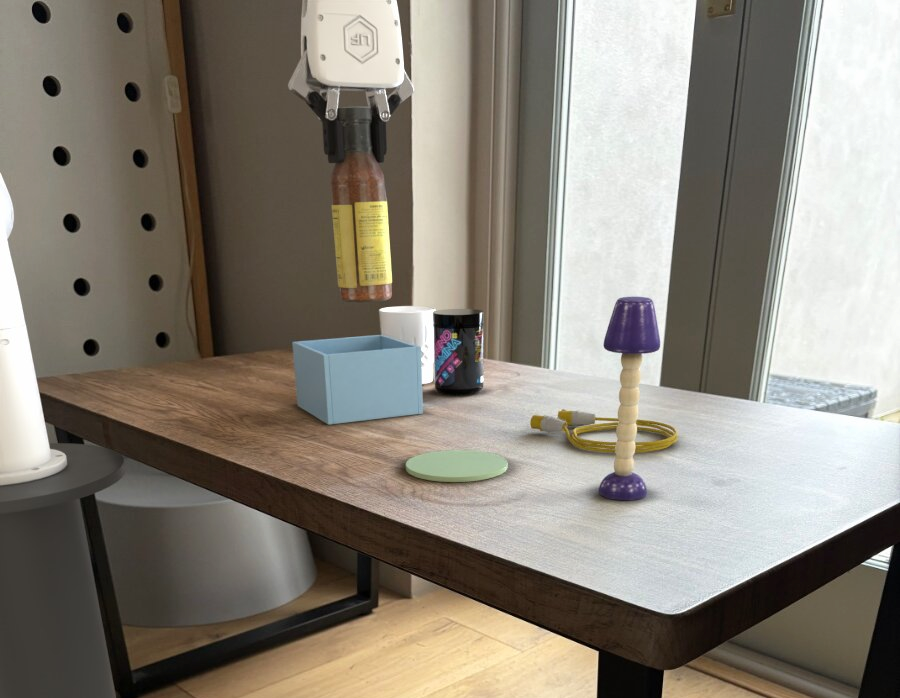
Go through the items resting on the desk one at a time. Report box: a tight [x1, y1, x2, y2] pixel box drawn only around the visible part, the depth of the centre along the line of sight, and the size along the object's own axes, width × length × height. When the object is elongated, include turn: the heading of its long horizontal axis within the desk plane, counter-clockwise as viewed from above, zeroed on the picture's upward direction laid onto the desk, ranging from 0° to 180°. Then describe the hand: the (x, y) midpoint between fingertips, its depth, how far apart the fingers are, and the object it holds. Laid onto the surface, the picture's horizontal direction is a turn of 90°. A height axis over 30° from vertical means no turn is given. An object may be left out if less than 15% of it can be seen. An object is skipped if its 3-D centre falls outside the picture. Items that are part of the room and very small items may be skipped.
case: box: [292, 334, 424, 426], centre depth 115 cm, size 12×12×8 cm
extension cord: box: [530, 409, 679, 454], centre depth 101 cm, size 12×16×2 cm
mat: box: [405, 449, 509, 483], centre depth 91 cm, size 10×10×1 cm
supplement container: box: [433, 308, 485, 397], centre depth 124 cm, size 7×7×10 cm
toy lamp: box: [598, 296, 661, 501], centre depth 79 cm, size 5×5×17 cm
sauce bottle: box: [330, 106, 393, 303], centre depth 103 cm, size 7×6×20 cm
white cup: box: [378, 305, 436, 385], centre depth 131 cm, size 8×8×10 cm
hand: (356, 160), depth 101 cm, fingers closed on sauce bottle, 4 cm apart
